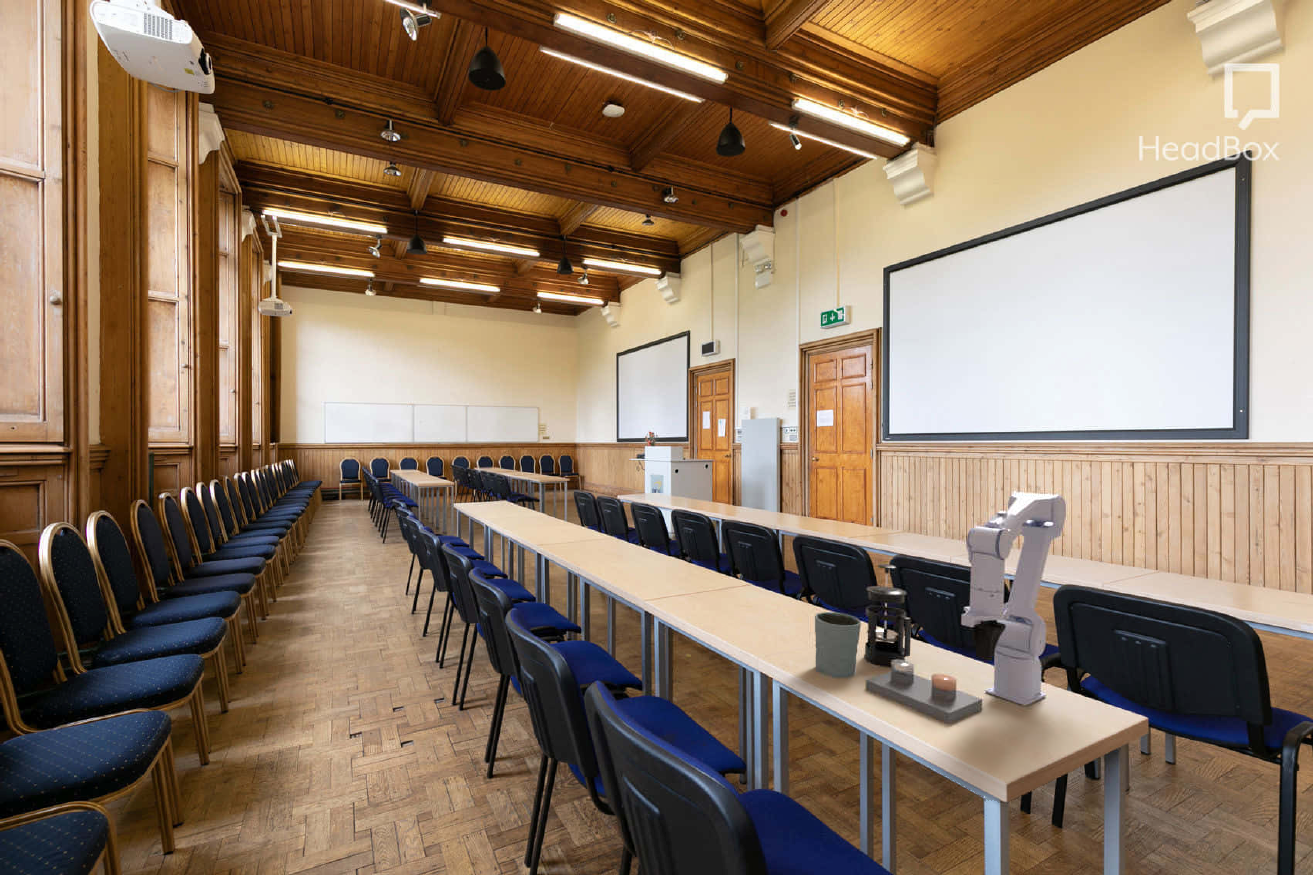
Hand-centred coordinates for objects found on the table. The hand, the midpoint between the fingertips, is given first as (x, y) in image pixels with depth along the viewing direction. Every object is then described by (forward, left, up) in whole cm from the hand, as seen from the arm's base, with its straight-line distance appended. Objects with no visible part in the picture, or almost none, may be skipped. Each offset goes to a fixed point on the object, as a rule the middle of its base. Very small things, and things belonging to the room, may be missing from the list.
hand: (984, 659), depth 115 cm
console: (+4, -10, -10) cm, 15 cm away
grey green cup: (+7, -29, -11) cm, 32 cm away
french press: (-9, -27, -11) cm, 30 cm away
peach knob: (+4, -6, -11) cm, 13 cm away
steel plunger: (+4, -15, -11) cm, 18 cm away
